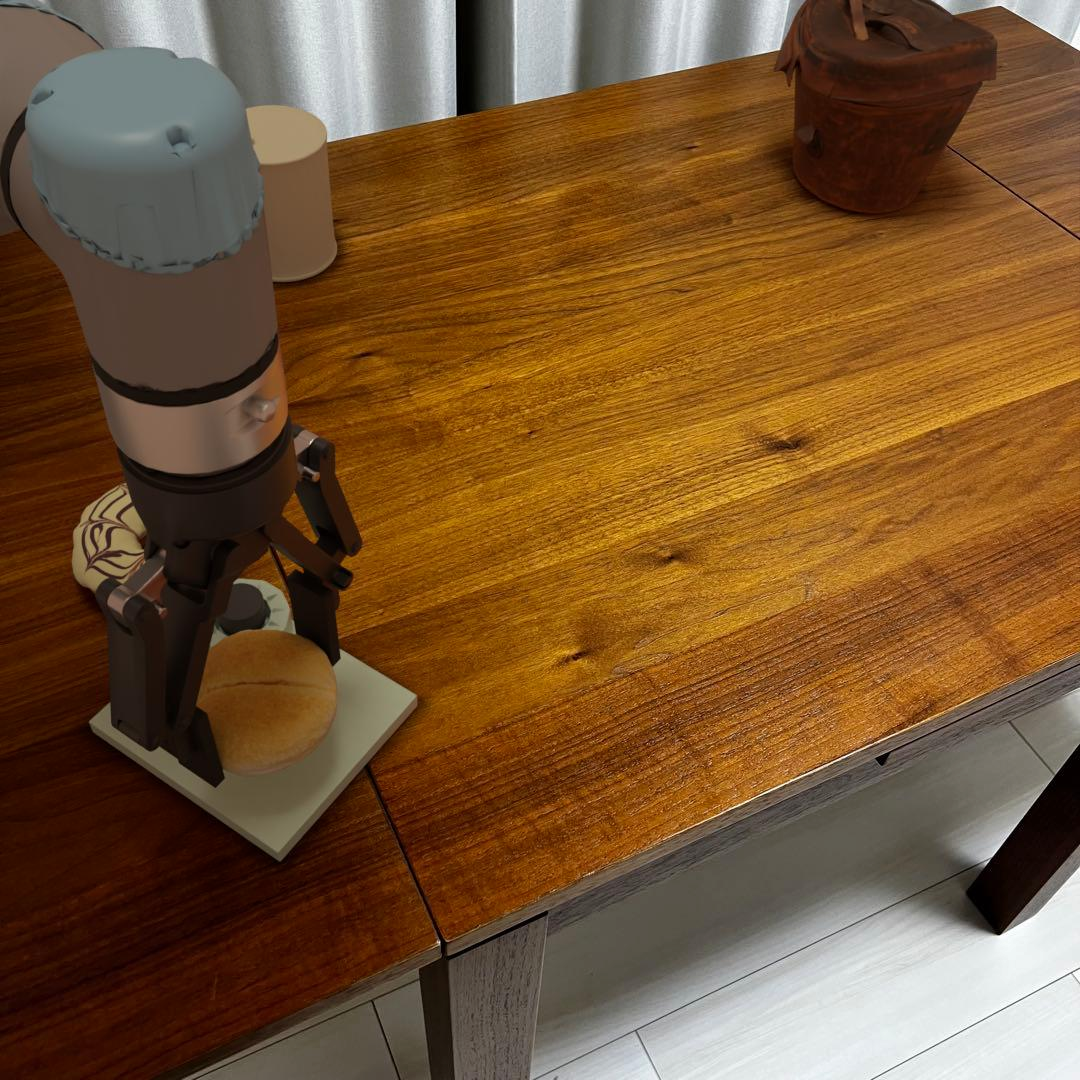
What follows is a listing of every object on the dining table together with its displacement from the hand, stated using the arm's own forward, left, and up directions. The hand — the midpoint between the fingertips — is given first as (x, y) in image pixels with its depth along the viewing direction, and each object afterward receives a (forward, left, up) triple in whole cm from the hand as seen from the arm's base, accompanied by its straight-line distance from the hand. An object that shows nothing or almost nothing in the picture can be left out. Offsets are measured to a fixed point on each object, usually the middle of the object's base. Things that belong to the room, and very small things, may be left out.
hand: (262, 709), depth 69 cm
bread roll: (0, 0, -1) cm, 1 cm away
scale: (-3, +2, -5) cm, 6 cm away
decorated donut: (-17, +7, -5) cm, 19 cm away
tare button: (-7, +6, -3) cm, 9 cm away
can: (-34, +40, -5) cm, 52 cm away
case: (+2, +84, -5) cm, 84 cm away
